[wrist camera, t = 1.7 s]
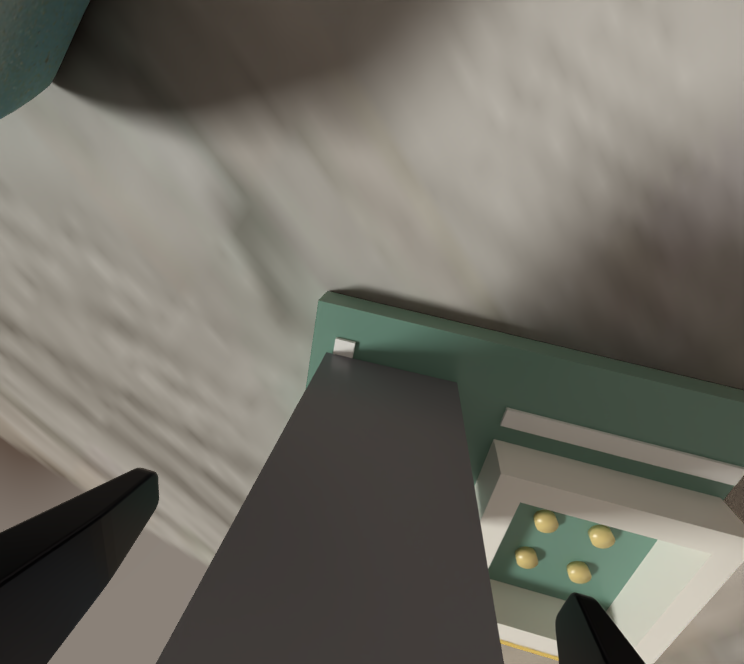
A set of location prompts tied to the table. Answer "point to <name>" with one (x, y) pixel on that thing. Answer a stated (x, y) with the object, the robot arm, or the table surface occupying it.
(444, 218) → the table surface
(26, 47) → the flower pot
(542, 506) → the header board
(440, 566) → the plug
